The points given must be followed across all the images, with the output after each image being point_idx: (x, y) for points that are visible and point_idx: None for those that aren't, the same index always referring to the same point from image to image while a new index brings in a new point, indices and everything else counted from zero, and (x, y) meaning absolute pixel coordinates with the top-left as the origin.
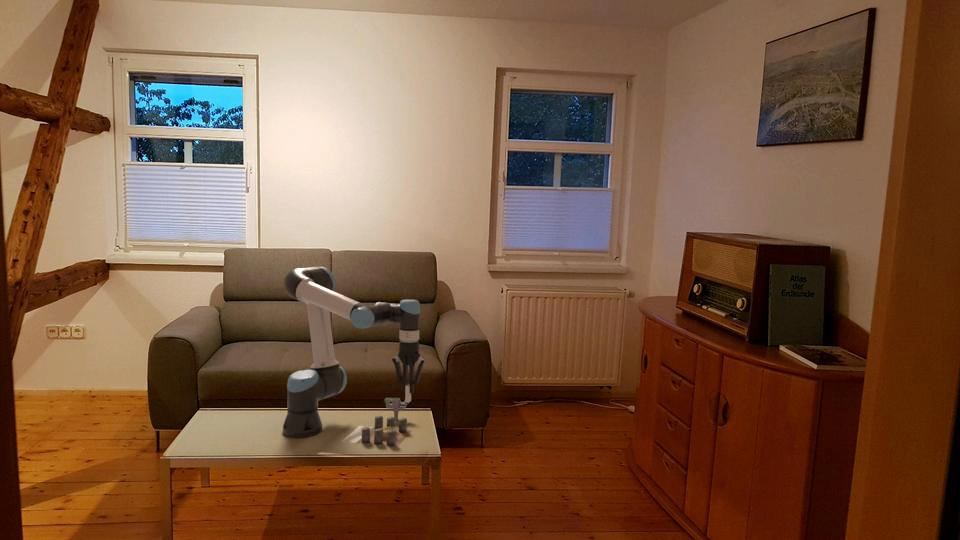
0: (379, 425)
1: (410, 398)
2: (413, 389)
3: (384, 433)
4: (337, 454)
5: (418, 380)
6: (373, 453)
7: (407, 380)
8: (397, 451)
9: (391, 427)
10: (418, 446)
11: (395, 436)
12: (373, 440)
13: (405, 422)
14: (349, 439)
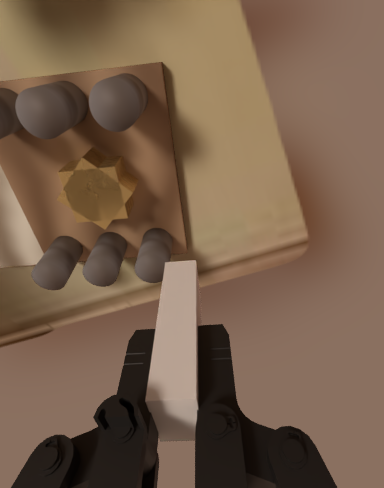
0: (12, 132)
1: (197, 287)
2: (230, 358)
3: (106, 226)
4: (56, 316)
5: (321, 479)
6: (136, 287)
7: (143, 464)
8: (194, 257)
9: (96, 169)
10: (246, 200)
11: (169, 256)
12: (82, 230)
13: (138, 116)
14: (6, 248)
